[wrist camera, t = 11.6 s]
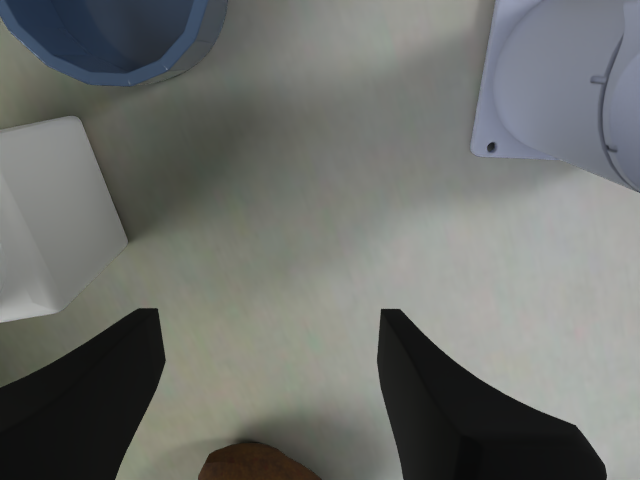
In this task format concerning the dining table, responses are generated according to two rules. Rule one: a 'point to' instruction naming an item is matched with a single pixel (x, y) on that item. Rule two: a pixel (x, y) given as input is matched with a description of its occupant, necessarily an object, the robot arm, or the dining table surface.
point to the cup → (116, 36)
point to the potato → (253, 464)
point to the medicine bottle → (52, 218)
